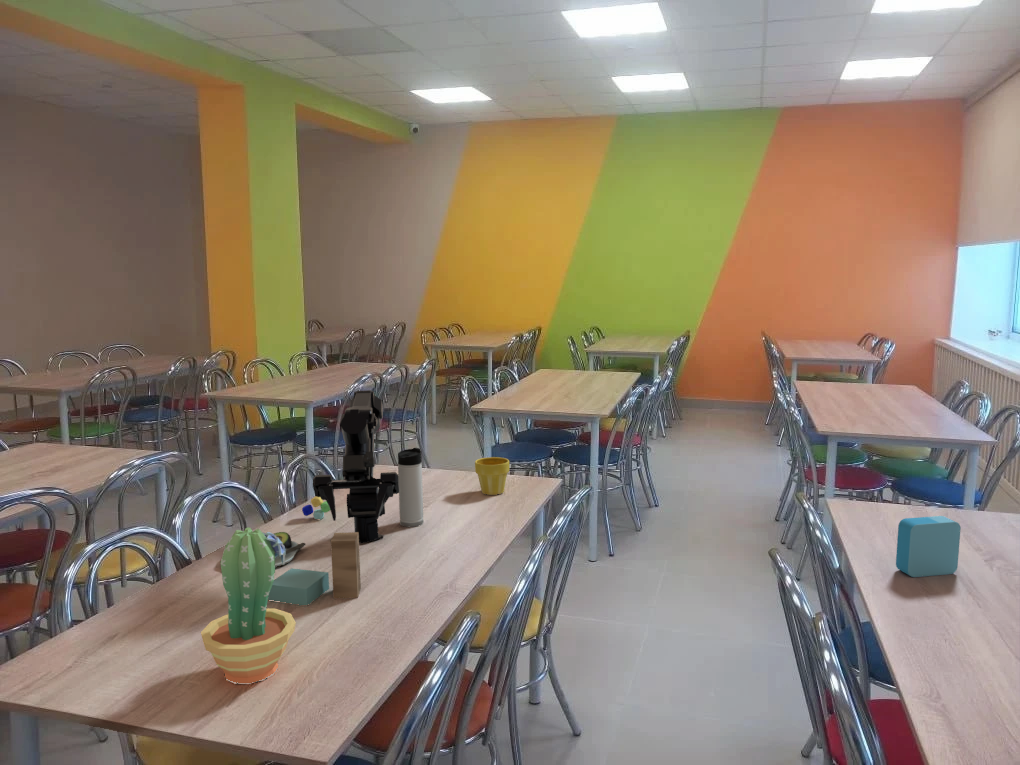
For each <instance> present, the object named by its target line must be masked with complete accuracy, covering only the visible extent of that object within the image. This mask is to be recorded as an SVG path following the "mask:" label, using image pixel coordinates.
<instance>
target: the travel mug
mask: <svg viewBox="0 0 1020 765" xmlns="http://www.w3.org/2000/svg"><path fill="white" fill-rule="evenodd" d="M422 464H423V462H422V450H421V448H419V447H414V448H408V449H407V448H406V449H404V450H403V449H402V450H401V451H399V452H398V453H397V465H398V466H397V474H398V478H399V493H398V502H399V503H398V506H399V508H398V509H399V525H400V526H402V527H405V526H406V528H414V527H415V526H416V527H420V526H421V525H423V524H424V498H423V496H424V493H423V491H424V490H423V465H422ZM419 525H420V526H419Z"/></svg>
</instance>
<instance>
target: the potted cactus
mask: <svg viewBox="0 0 1020 765" xmlns="http://www.w3.org/2000/svg"><path fill="white" fill-rule="evenodd" d="M278 555H279V556H281V560H282V566H284V565H286V564H285V546H284V545H283V543H282V542H281V541H280V539H279V538H278V537H276V535H274V533H272V532H270V531H267V532H266V533H265V532H263V531H262V530H261V529H260V528H257V529H254V530H252V528H251V527H250V526H249V527H246V528H245V529H244V531H243V530H240V529H236V530H235V531H234V533H233V534H232V536H231V538H230V539H229V540H228V542H227V543H226V544H225V547H224V550H223V552H222V557H221V559H220V570H221V579H222V585H223V587H224V590H225V593H226V596H227V599H228V605H227V608H228V611H227V614H225V615H223V616H220V617H218V618H216V619H213V620H211V621H210V622H209V623H208V624H207V625H206V626H205V627H204V628H203V629H202V631H200V635H201V639H202V642H203V645H204V650H205V651H207V652H209V653H210V654H211V656H212V658H213V660H214V662H215V664H216V665H217V667H218V668H220V669H221V671H223V674H224V673H225V676H224V678H225V677H226V679H228V680H230V681H233V682H236V683H237V682H238V683H252V682H256V681H259V680H262V679H265V678H266V677H268V676H270V675H271V674H273V673H274V672H275V671H276V669H277V668H278V666H279V664H278V662H279V660H280V659H281V658H282V656H283V654H284V653H285V652H286V650H287V646H288V643H289V639H291V637H292V635H293V633H295V631H296V630H295V629H296V623H297V622H296V621H295V618H294V617H293V615H292V613H290V612H287V611H284V610H282V609H281V610H280V609H277V608H271V607H270V608H269V607H268V602H269V601H268V595H269V593H270V590H271V587H272V585H273V582H274V580H275V573H276V567H275V558H276V557H277V556H278ZM267 607H268V608H267Z"/></svg>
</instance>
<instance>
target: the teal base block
mask: <svg viewBox="0 0 1020 765" xmlns="http://www.w3.org/2000/svg"><path fill="white" fill-rule="evenodd" d="M329 579H330V577H329V572H327V571H320V570H309V569H301V568H290V569H288V570H287V571H285V572H284V573H282V574H281V575H279V576H278V577H276V578H274V582H273V585H272V587H271V590H270V593H269V595H268V600H274V601H280V602H286V603H292V604H291V605H293V604H299V605H298V606H301V605H308V604H309V605H311V604H312V603H313V602H314V601H316V600H317V599H319V597H321V596H322V595H323V594H325V593H326V592H327V591H329V590H330V580H329ZM325 591H326V592H325ZM320 595H321V596H320ZM316 598H317V599H316ZM315 599H316V600H315ZM313 600H314V601H313ZM312 601H313V602H312ZM311 602H312V603H311ZM310 603H311V604H310ZM309 605H308V606H309Z"/></svg>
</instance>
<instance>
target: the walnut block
mask: <svg viewBox="0 0 1020 765" xmlns="http://www.w3.org/2000/svg"><path fill="white" fill-rule="evenodd" d="M330 553H331V554H330V555H331V575H332V593H333V594H332V595H333V597H332V598H334V600H335V599H336V600H337V599H358V598H359V595H360V592H361V589H362V585H361V584H362V583H361V582H362V581H361V561H360V559H361V558H360V543H359V532H355V531H353V532H352V531H351V532H334V534H333V535H332V538H331V540H330Z"/></svg>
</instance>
